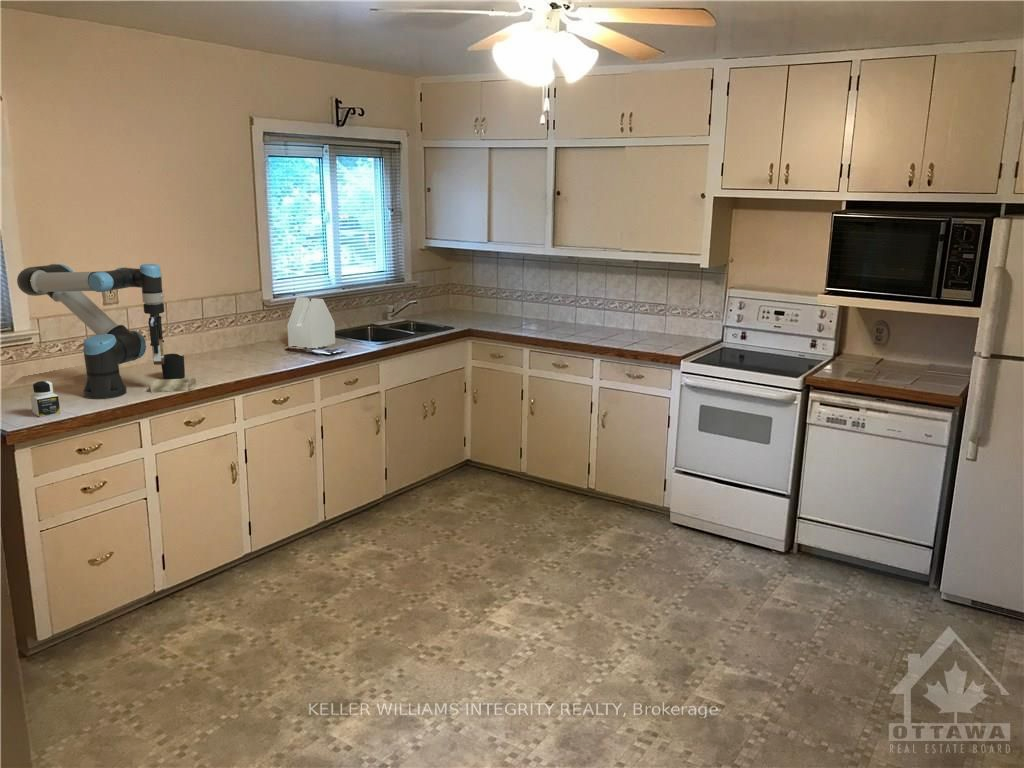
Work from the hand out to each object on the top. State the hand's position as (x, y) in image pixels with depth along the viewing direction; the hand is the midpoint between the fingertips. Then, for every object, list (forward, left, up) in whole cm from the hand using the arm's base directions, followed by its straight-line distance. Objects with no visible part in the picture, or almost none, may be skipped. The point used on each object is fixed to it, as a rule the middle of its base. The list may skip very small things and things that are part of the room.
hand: (158, 359), depth 319 cm
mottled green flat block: (+5, 0, -13) cm, 13 cm away
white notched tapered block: (+60, +82, -13) cm, 102 cm away
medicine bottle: (-34, -29, -13) cm, 47 cm away
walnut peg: (0, 0, -2) cm, 2 cm away
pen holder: (+2, +19, -13) cm, 23 cm away
